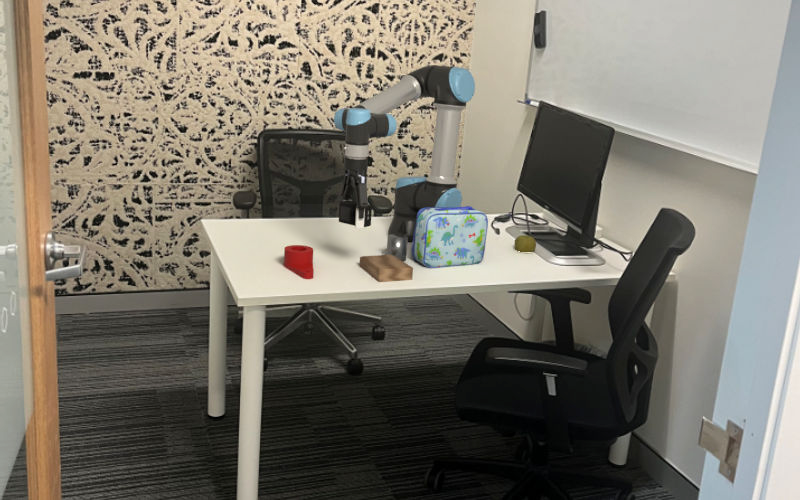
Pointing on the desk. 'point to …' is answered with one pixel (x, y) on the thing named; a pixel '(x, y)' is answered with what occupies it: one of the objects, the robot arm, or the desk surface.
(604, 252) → the desk surface
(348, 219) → the digital camera
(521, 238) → the olive rounded block
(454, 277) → the desk surface
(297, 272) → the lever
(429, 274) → the desk surface
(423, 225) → the lunch box
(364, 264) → the walnut riser
